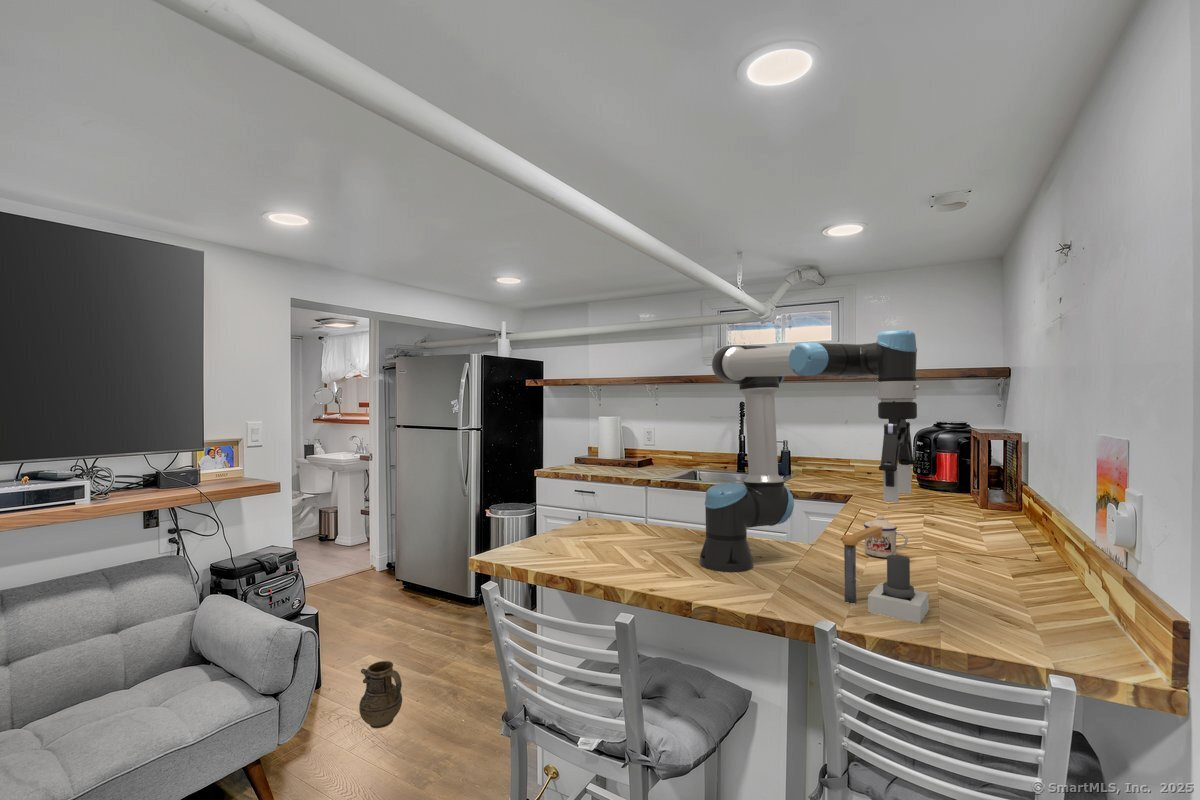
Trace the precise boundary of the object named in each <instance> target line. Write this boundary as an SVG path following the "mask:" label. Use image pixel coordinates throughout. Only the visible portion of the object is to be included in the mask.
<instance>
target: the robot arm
mask: <svg viewBox="0 0 1200 800" xmlns="http://www.w3.org/2000/svg"><path fill="white" fill-rule="evenodd" d="M876 339H877V340H876V342H872V343H862V344H861V343H860V344H853V343H823V342H822V343H821V342H815V341H811V342H810V341H808V342H799V343H797V344H793V345H792V344H789V345H781V346H768V345H767V346H766V345H738V344H736V345H735V344H734V345H733V344H731V345H727V346H723V347H722V348H720V349H719V350H717V351H716V353H715V354H714V355H713V358H712V361H711V368H712V371H713V374H714V375H715V377H716V378H717V379H718V380H720V381H721V382H723V383H727V384H730V385H739V386H738V387H739V392H740V394H742V395H743V396H744V403H745V404H744V405H745V424H746V426H745V427H746V441H747V442H746V445H747V447H746V448H747V466H748V467H747V469H748V474H747V476H746V477H745V478H744V479H743V483H740V482H729V483H728V482H726V483H719V484H715V485H712V486H710V487H709V488H708V489H707V490H706V492H705V498H704V499H705V500H704V501H705V502H704V505H705V540H704V542H703V544H702V545H703V546H702V549H701V552H700V555H699V565H700V566H701V568H703V569H706V570H709V571H714V572H721V573H743V572H749V571H751V570H752V569H753V568H754V558H753V555H752V553H751V549H750V545H749V544H748V540H747V538H748V537H747V535H748V534H747V531H748V530H747V528H749V529H750V528H757V527H765V526H766V527H767V526H769V527H773V526H776V525H781V524H784V523H786V522H787V521H788V519H790V518H791V516H792V513H793V510H794V508H795V507H794V506H795V504H794V503H795V501H794V497H793V495H794V494H792V493H791V490H790V488H789V487H788V486H786V485H785V480H784V479H783V478H782V477H781V475H779V462H778V461H779V460H778V446H777V445H778V442H777V441H778V440H777V426H776V425H777V424H776V403H775V395H776V393H778V391H780V385H781V383H783V381H784V380H785V377H801V376H802V377H820V376H821V377H829V376H831V377H843V378H844V377H845V378H857V377H868V376H869V377H870V376H877V399H878V400H880V402H878V403H877V413H878V414H877V416H878V418H879V419H881V420H888V423H884V425H883V442H882V449H881V451H882V452H881V460H880V465H878V471H883V473H882V477H883V479H882V480H883V483H882V484H883V485H882V486H883V490H882V491H883V493H882V494H883V502H884V503H885V502H886V503H895V504H896V503H897V504H898V503H899V499H900V498H899V497H900V496H899V495H900V494H904V495H905V494H906V495H907V494H908V495H911V494H912V465H913V466H914V465H916V460H914V456H913V448H912V447H913V446H912V439H911V438H912V437H911V423H910V421H907V420H915V419H917V417H918V403H916V402H915V401H914V400H916V399H917V391H919V390H920V385H918V384H917V354H918V353H917V352H918V347H917V340H916V334H915V332H914V331H912V330H909V329H907V330H906V329H900V330H899V329H897V330H896V329H895V330H886V331H885V330H884V331H881V332H878V334H877V338H876Z"/></svg>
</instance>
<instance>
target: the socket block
mask: <svg viewBox="0 0 1200 800" xmlns="http://www.w3.org/2000/svg"><path fill="white" fill-rule="evenodd" d="M929 595H930V594H929V592H926V591H921V590H916V589H914V597H911V598H910V601H909V600H904V599H899V598H894V597H889V596H887V594H885V593H884V592H883V583H878V584H877V585H876V586H875V587H874V588H873V589H872V590H871V592H869V594H868V595H867V613H868V612H871V613H870V614H872V613H876V614H875V615H877V614H881V615H885V616H884V617H886V616H889V617H888V618H891V617H894V618H893V619H896V618H897V620H901V619H902V620H901V621H905V620H906V621H905V622H910V621H912V622H911V623H915V622H916V623H915V624H922V622H921V621H923V620H924V619H925V617H926V616H925V615H927V614H928V612H929V610H930V608H929V606H930V604H929V602H930V600H929V599H930V598H929ZM881 615H880V616H881Z"/></svg>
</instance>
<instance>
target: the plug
mask: <svg viewBox="0 0 1200 800" xmlns="http://www.w3.org/2000/svg"><path fill="white" fill-rule="evenodd" d="M910 561H911V559H910V558H909V557H907V556H905V555H904V556H903V555H897V554H896V555H889V556H887V557H886V581H885V582H884V583H882V584H883V592H884V593H885V594H887V596H889V597H894V598H899V599H904V600H909V601H910V598H911V597H914V590H915V588H914V586H912V585H911V582H910V581H911V576H910V575H911V570H910V569H911V567H910V564H911V563H910Z"/></svg>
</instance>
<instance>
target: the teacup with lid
mask: <svg viewBox="0 0 1200 800" xmlns="http://www.w3.org/2000/svg"><path fill="white" fill-rule="evenodd" d="M872 526H880V527H882V539H876V538H873V536H871V537H869V538H867V539H865V540H864V552H865V554H867V555H869V556H871V557H879V558H887V556H889V555H897V549H898V550H900V549H904V548H905V547H906V546H907V545H908V541H909V539H908V536H907V535H906V534H905V533H904V532H901V531H900V532H899V531H897V529H898V527H897V525H896V524H895V523H892V522H890V521H888V520H886V519H884V516H883V515H877V516H876V517H875V518H873V519H872V520H870V521H869V520H868V521H865V522H864V523H863V527H864V529H867V528H869V527H872ZM897 535H898V536H899V535H900V536H902V537H903V538H904V543H903V544H902V545H897Z"/></svg>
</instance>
